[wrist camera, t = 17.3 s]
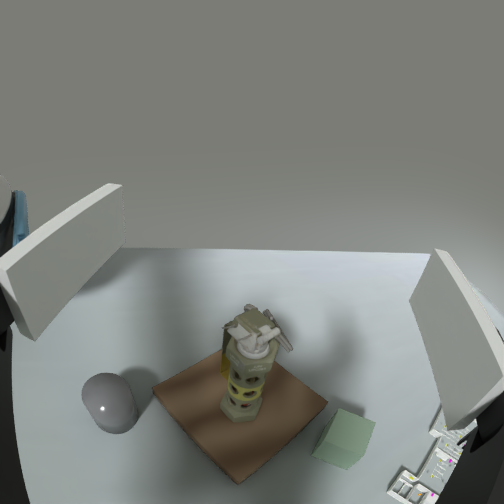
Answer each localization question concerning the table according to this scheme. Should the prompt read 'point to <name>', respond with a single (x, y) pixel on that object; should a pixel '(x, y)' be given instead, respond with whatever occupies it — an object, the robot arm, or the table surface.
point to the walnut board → (238, 433)
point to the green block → (344, 439)
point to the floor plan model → (429, 497)
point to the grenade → (248, 361)
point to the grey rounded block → (110, 403)
